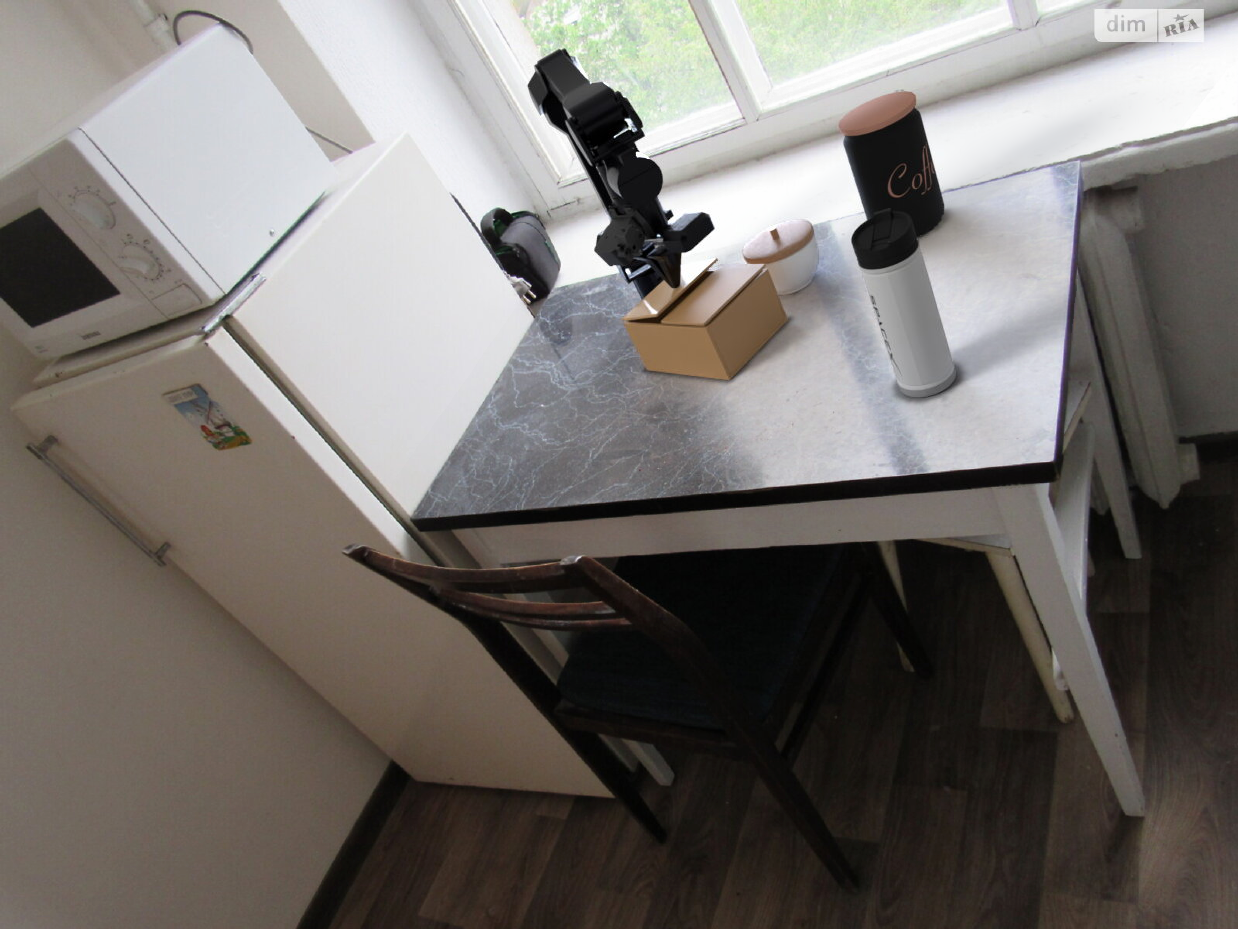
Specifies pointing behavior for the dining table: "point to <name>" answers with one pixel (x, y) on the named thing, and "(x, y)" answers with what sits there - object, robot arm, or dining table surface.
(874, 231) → the travel mug
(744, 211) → the dining table surface
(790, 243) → the trinket box
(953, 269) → the dining table surface
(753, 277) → the carton
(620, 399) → the dining table surface
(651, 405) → the dining table surface
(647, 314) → the flap
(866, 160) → the coffee jar
